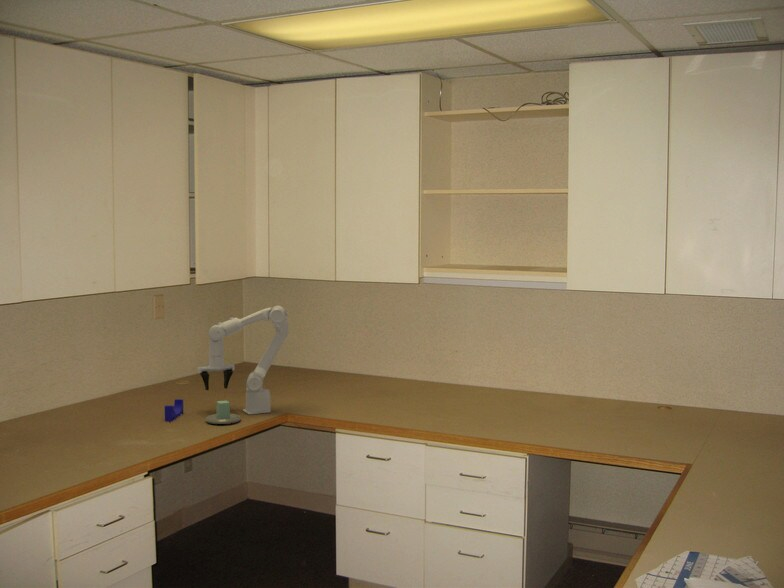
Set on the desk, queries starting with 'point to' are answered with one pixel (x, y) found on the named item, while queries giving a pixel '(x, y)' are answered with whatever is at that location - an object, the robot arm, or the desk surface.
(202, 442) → the desk surface
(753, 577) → the desk surface
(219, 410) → the pale green block
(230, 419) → the slate plate
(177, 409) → the cable clip
